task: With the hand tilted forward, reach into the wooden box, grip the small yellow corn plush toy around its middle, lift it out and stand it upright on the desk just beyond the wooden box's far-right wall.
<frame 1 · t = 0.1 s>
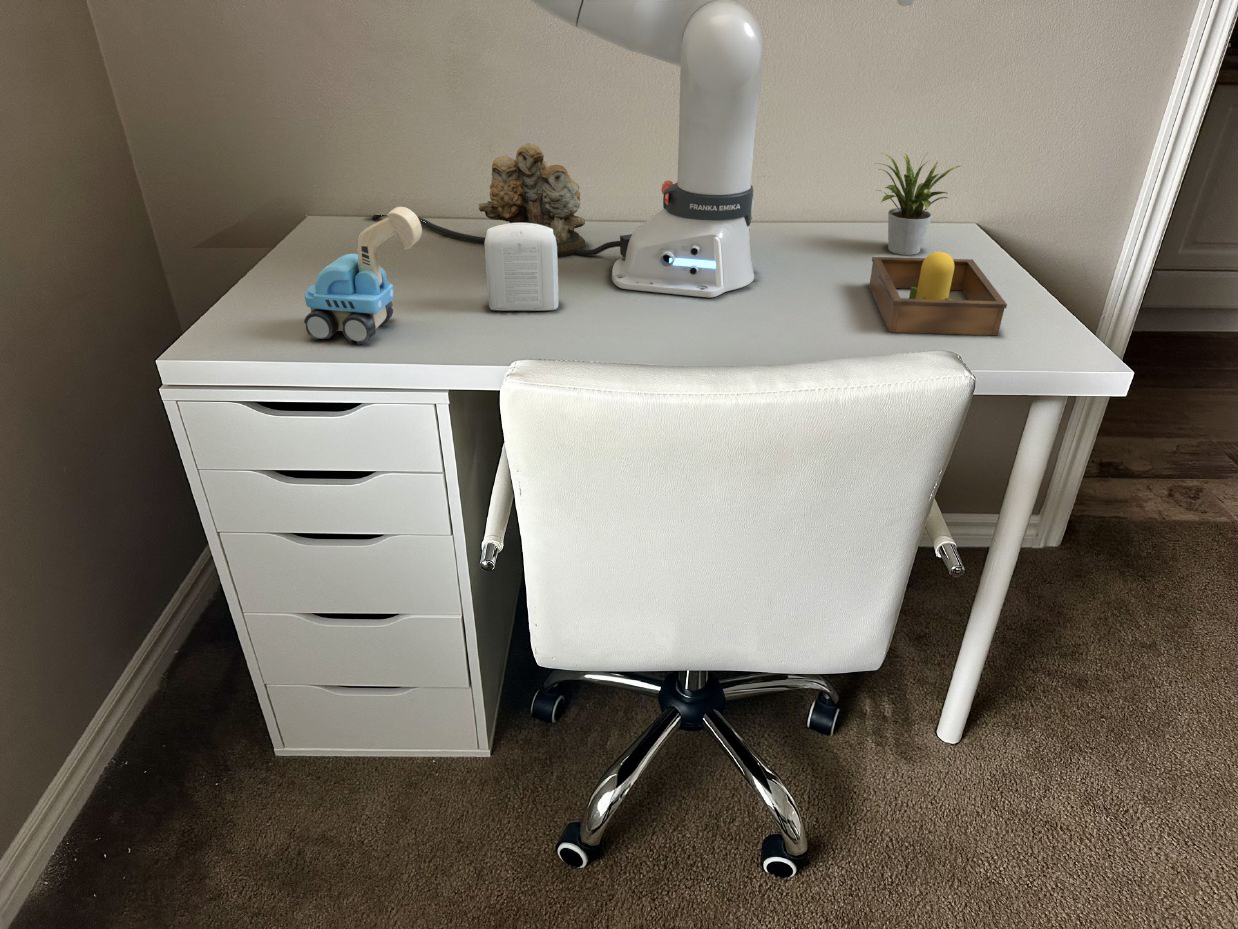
hand: (898, 2, 117), 39 cm above the table, tool pointing down, fingers open, 8 cm apart
wooden box: (929, 309, 127), on the table
corn plush toy: (935, 281, 125), in the wooden box
white rounded block: (524, 308, 128), on the table
owl figurine: (534, 248, 151), on the table
house plant: (895, 249, 150), on the table
toy excavator: (372, 333, 121), on the table
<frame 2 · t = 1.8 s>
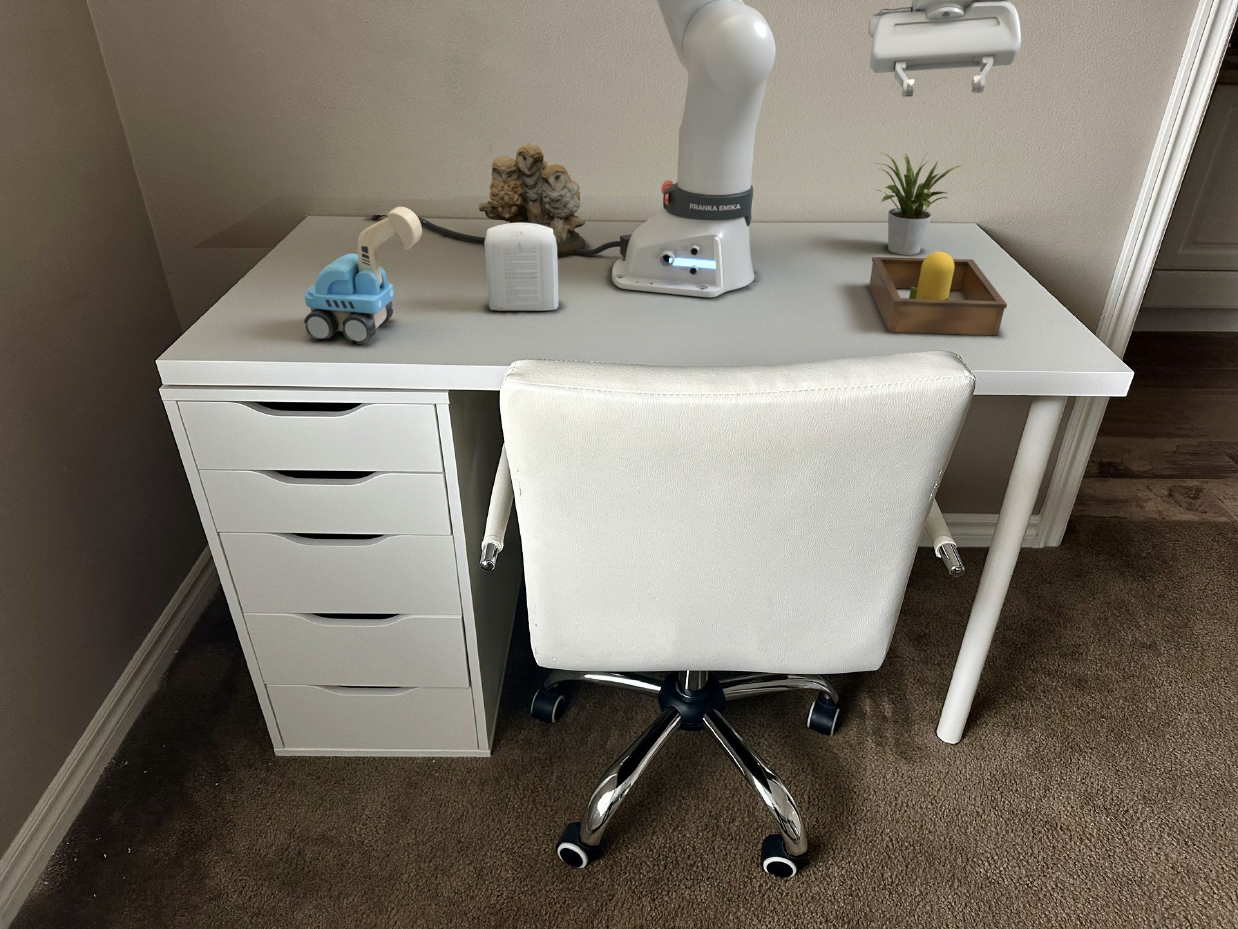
hand: (942, 92, 124), 27 cm above the table, tool tilted 40°, fingers open, 8 cm apart
nothing on the table moved.
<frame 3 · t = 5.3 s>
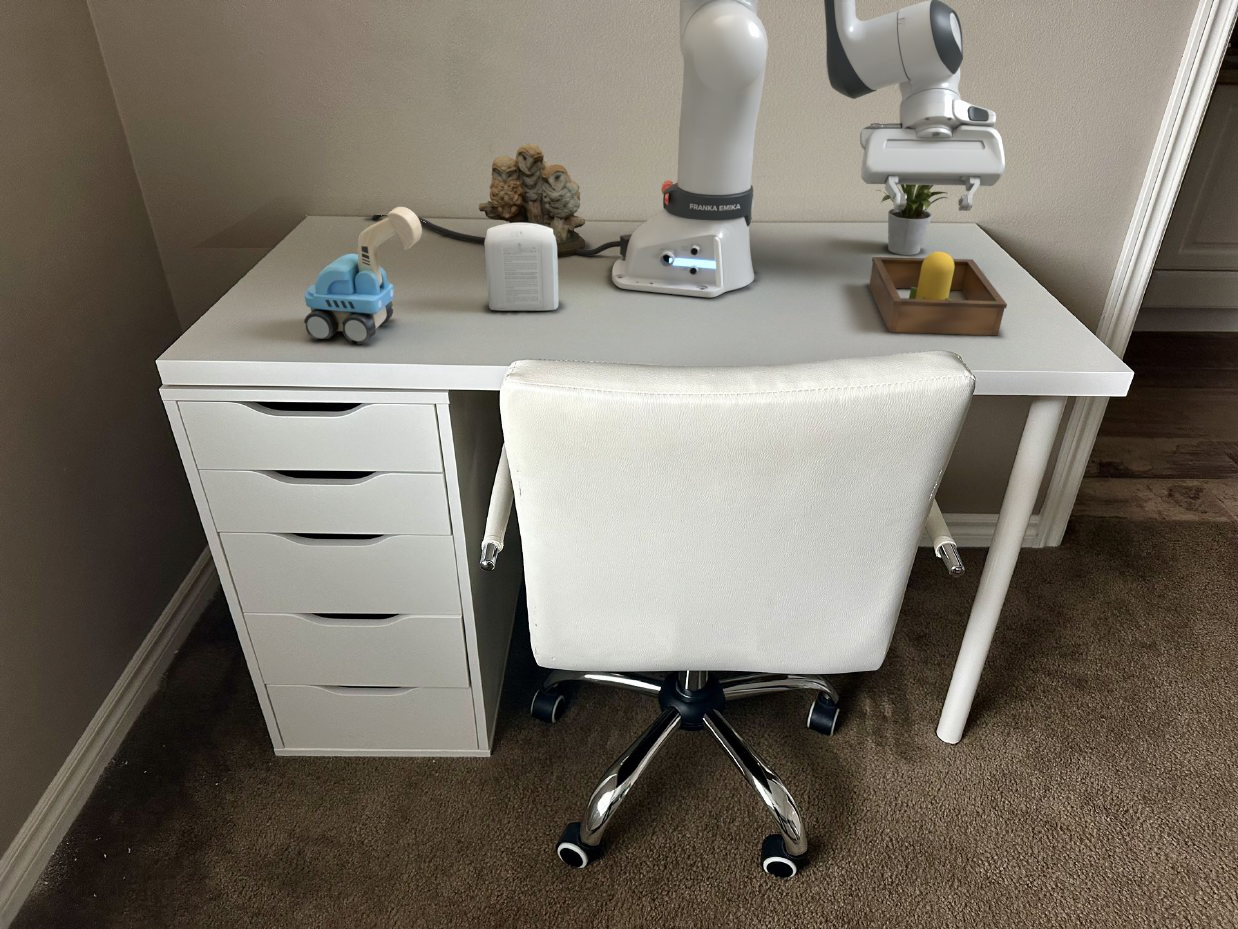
hand: (932, 208, 128), 12 cm above the table, tool tilted 45°, fingers open, 8 cm apart
nothing on the table moved.
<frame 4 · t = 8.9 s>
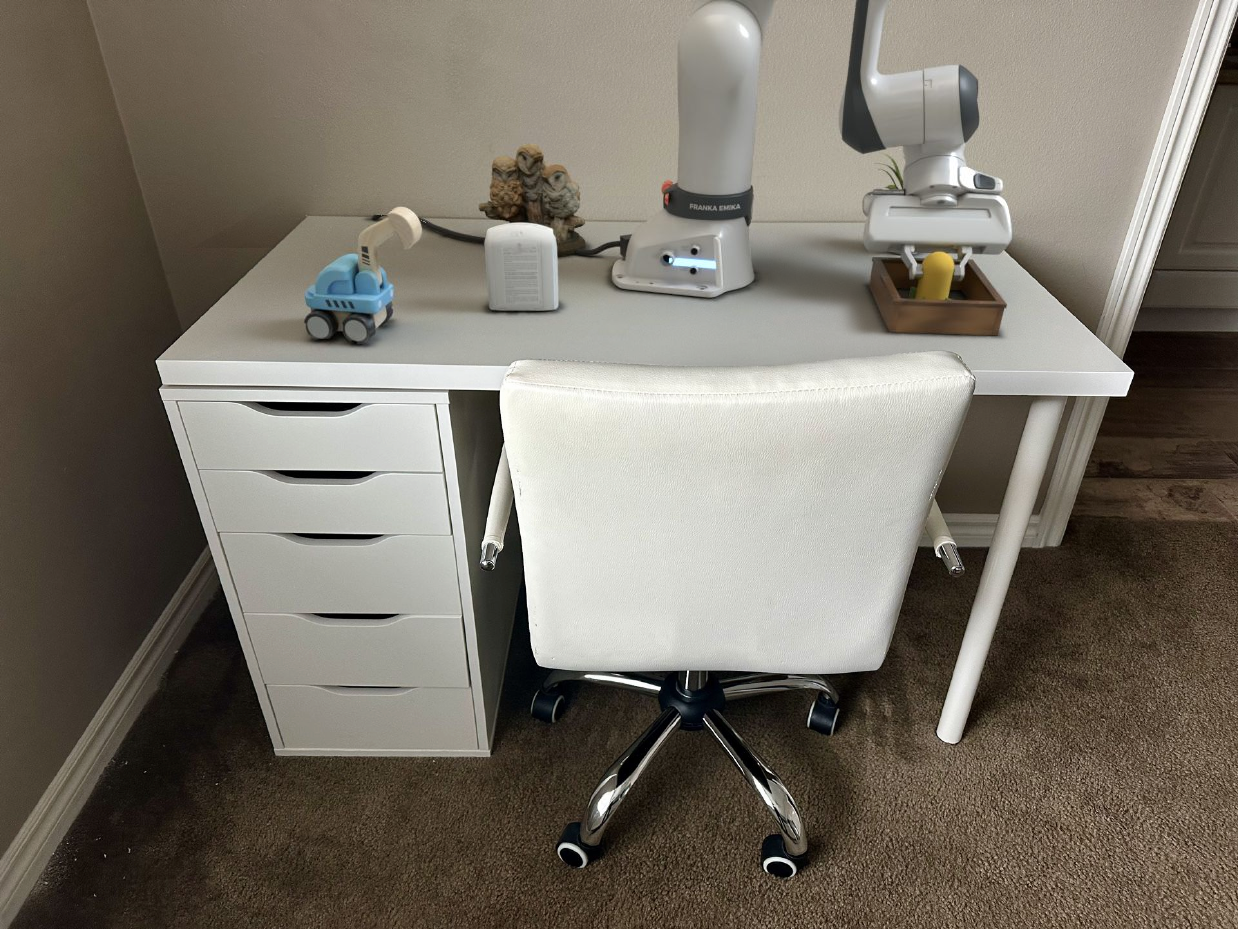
hand: (937, 278, 124), 5 cm above the table, tool tilted 45°, fingers closed on corn plush toy, 4 cm apart
corn plush toy: (934, 281, 125), in the wooden box, touching gripper
everything else where it was.
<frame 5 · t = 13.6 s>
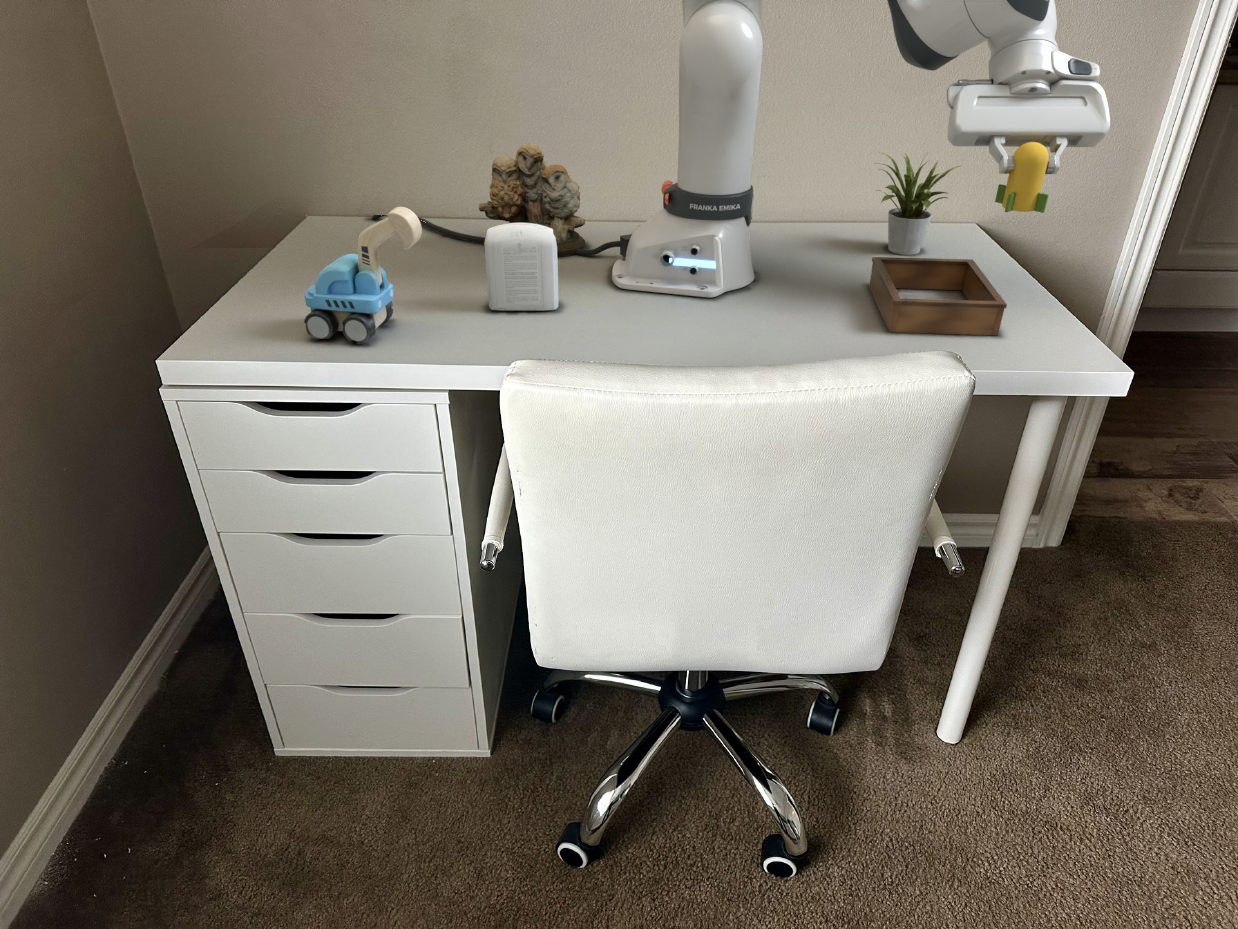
hand: (1029, 171, 116), 20 cm above the table, tool tilted 45°, fingers closed on corn plush toy, 4 cm apart
corn plush toy: (1026, 175, 117), point 19 cm above the table, touching gripper
everything else where it was.
when the fingers open (5 cm above the table, at t = 18.5 s): corn plush toy stays where it is, on the table.
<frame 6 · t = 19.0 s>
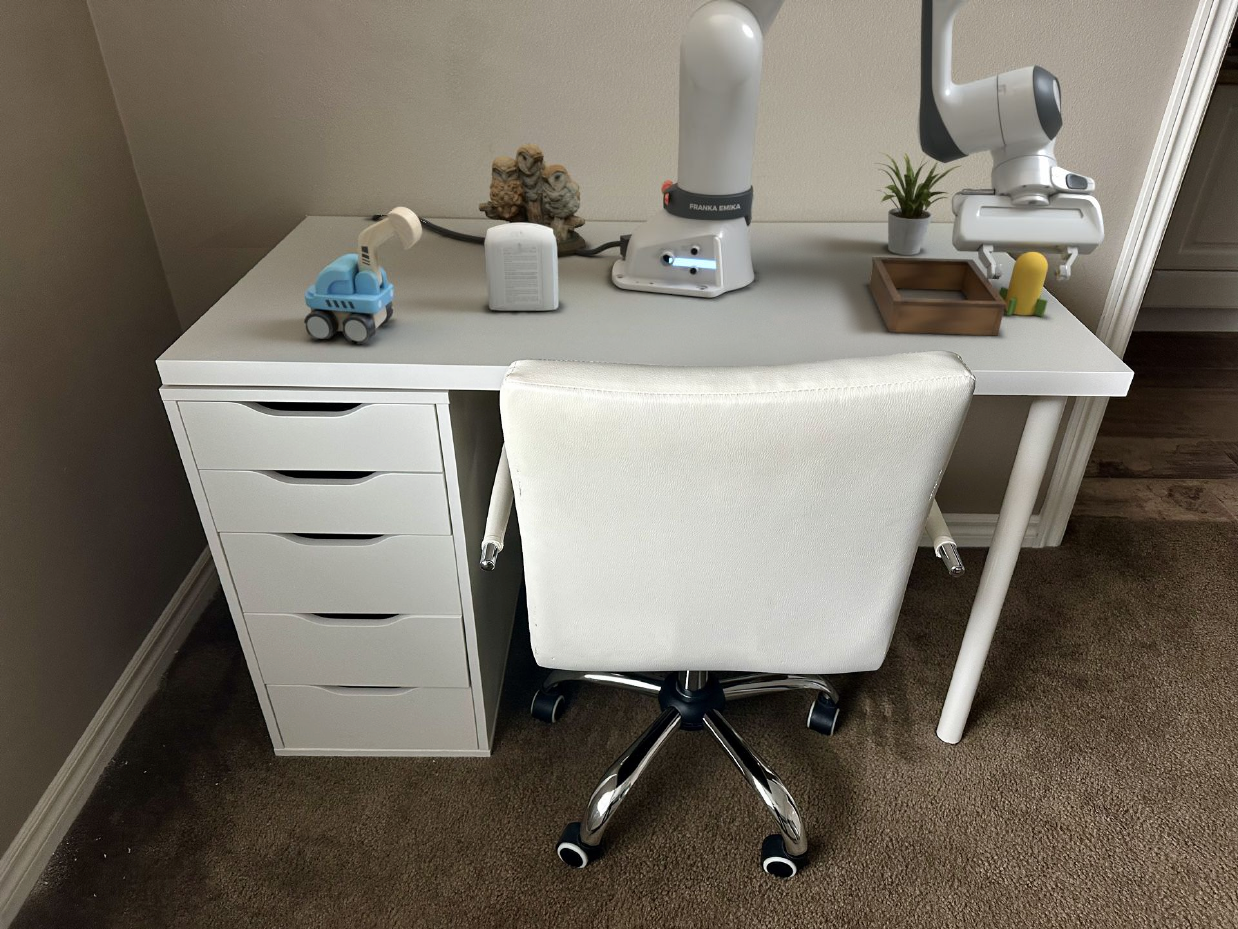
hand: (1028, 278, 124), 5 cm above the table, tool tilted 45°, fingers open, 8 cm apart
corn plush toy: (1027, 281, 125), on the table
everything else where it was.
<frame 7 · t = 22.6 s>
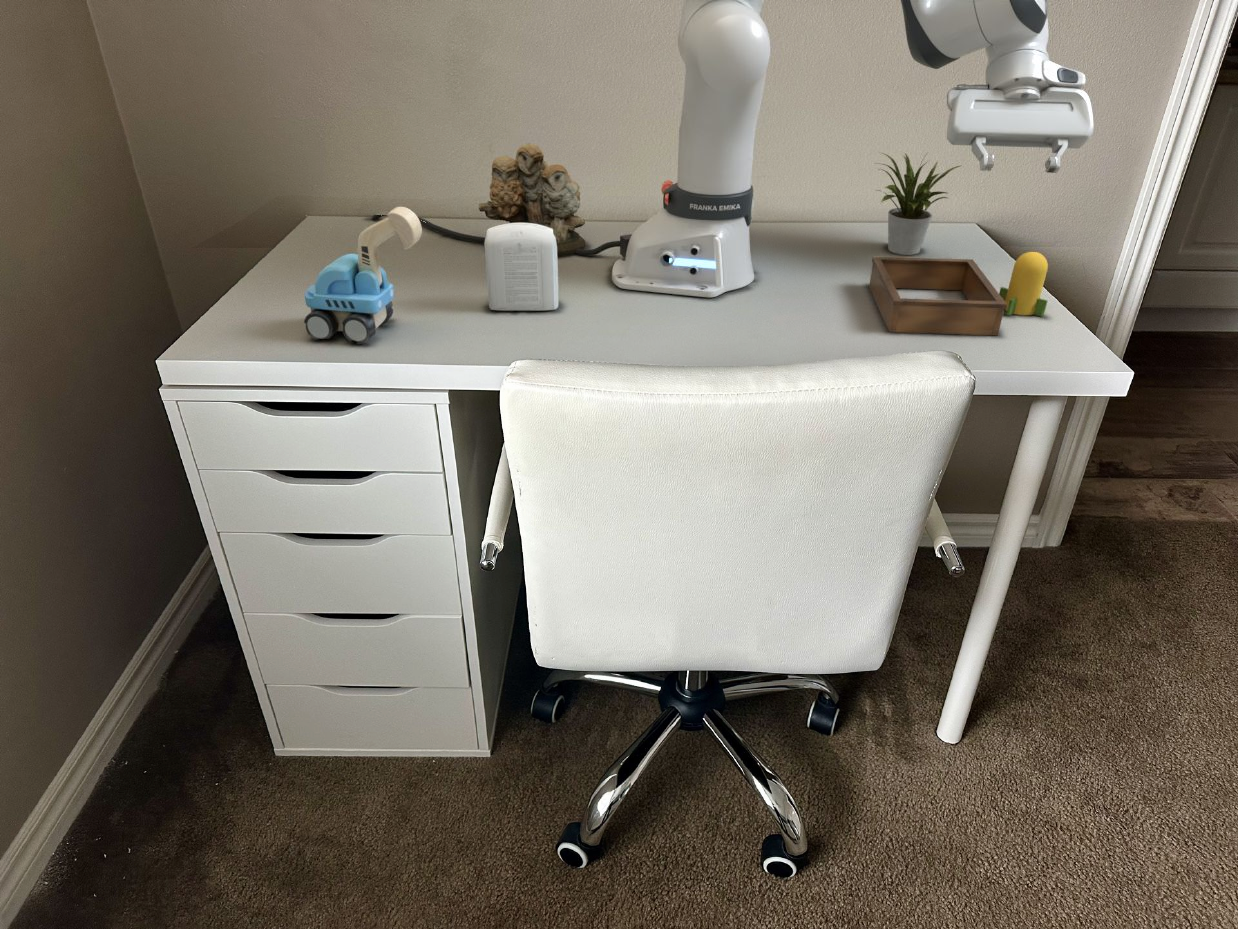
hand: (1019, 169, 129), 17 cm above the table, tool tilted 45°, fingers open, 8 cm apart
nothing on the table moved.
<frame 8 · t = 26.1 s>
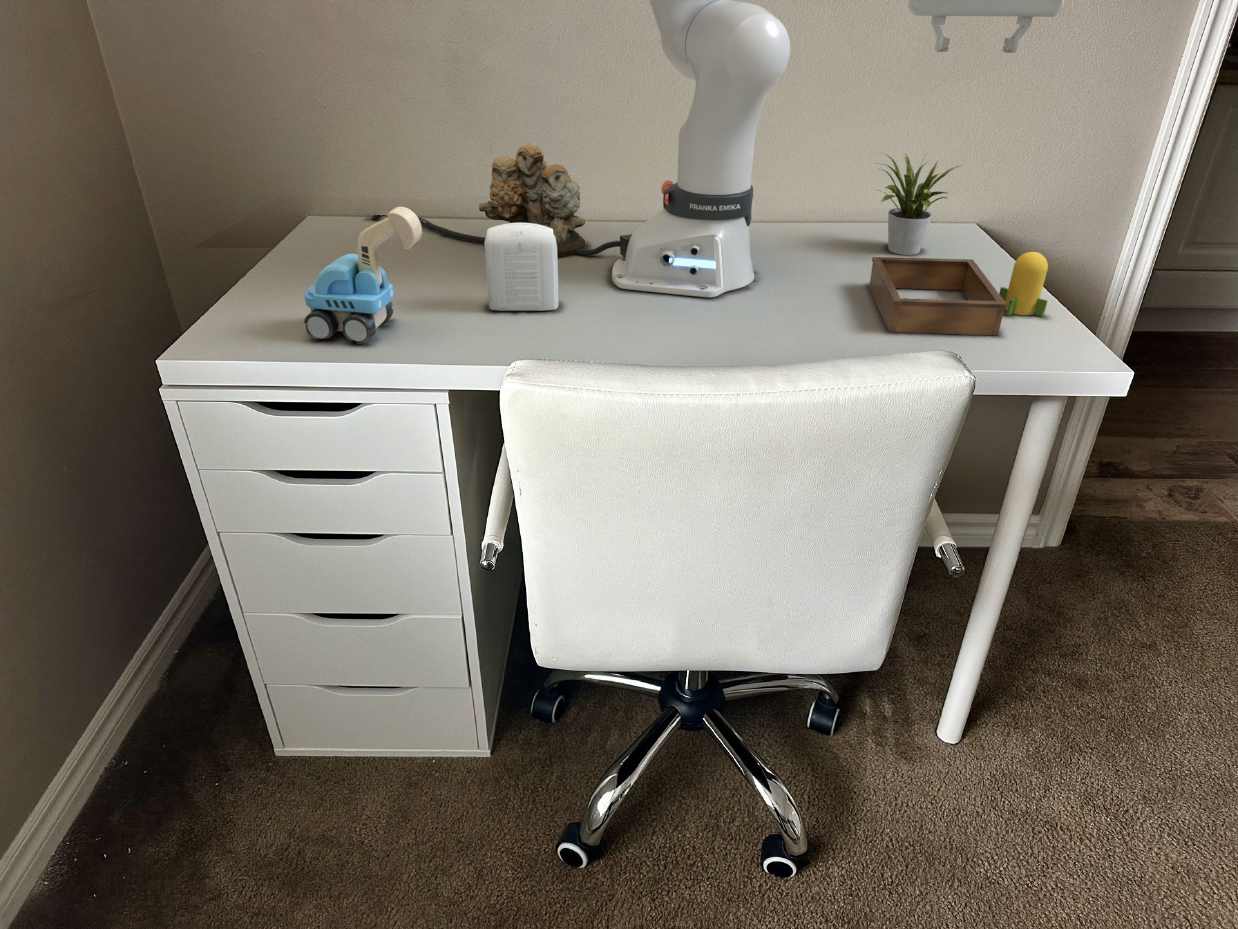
hand: (975, 51, 124), 32 cm above the table, tool pointing down, fingers open, 8 cm apart
nothing on the table moved.
at the end: corn plush toy inside the target area (0.1 cm from its centre), on the table; corn plush toy tilted 0°; the gripper is holding nothing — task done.
